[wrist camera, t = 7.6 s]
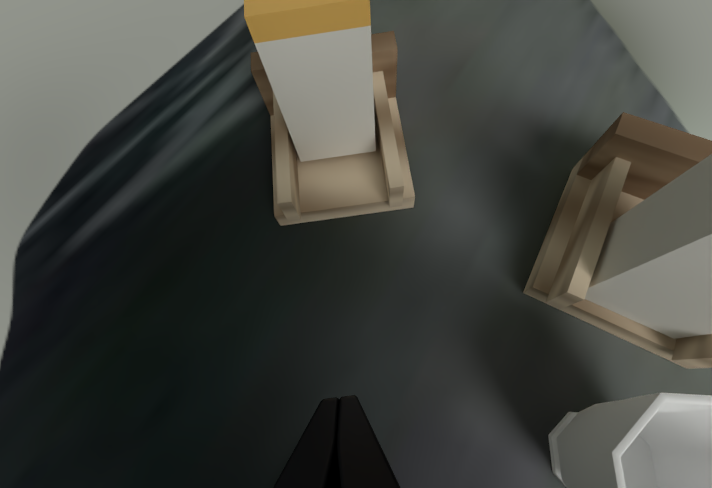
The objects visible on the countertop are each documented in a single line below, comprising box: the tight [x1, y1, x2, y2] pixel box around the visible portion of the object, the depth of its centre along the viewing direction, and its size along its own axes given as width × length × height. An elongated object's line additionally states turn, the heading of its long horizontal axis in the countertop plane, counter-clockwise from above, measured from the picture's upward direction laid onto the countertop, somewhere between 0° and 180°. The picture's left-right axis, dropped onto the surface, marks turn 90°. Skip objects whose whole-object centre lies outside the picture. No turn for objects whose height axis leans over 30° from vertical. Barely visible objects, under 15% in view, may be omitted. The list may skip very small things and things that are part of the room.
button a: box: [244, 0, 376, 162], centre depth 20 cm, size 4×5×10 cm
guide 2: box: [523, 112, 712, 368], centre depth 19 cm, size 10×9×6 cm
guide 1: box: [251, 31, 415, 226], centre depth 23 cm, size 10×9×6 cm
